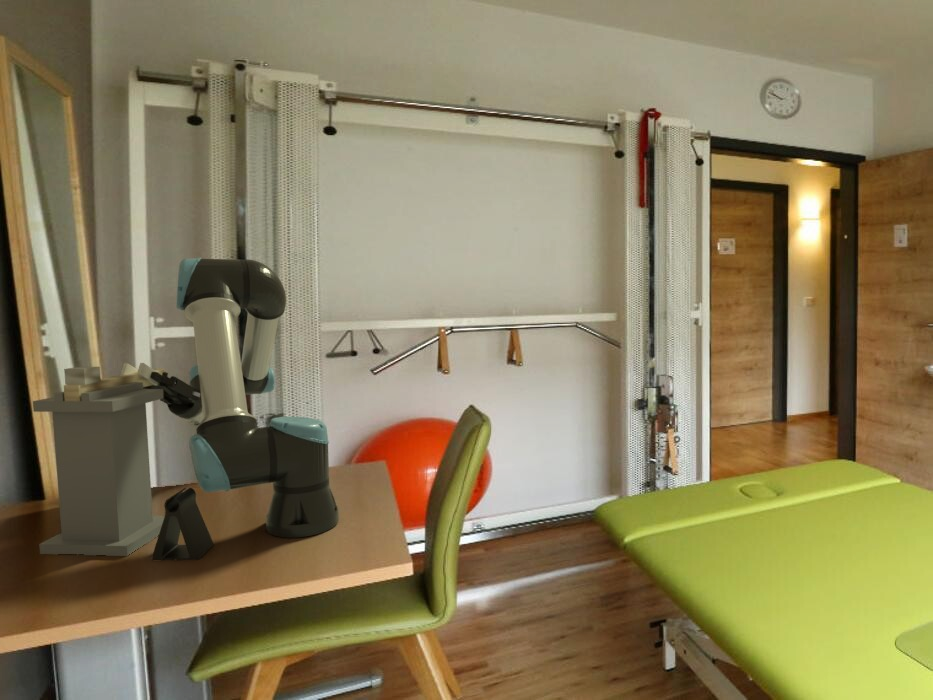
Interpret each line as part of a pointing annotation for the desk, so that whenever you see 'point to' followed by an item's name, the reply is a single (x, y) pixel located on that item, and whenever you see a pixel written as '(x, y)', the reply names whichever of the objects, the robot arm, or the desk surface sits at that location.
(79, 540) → the stand
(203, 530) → the dark triangular holder
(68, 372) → the beam
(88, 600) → the desk surface
